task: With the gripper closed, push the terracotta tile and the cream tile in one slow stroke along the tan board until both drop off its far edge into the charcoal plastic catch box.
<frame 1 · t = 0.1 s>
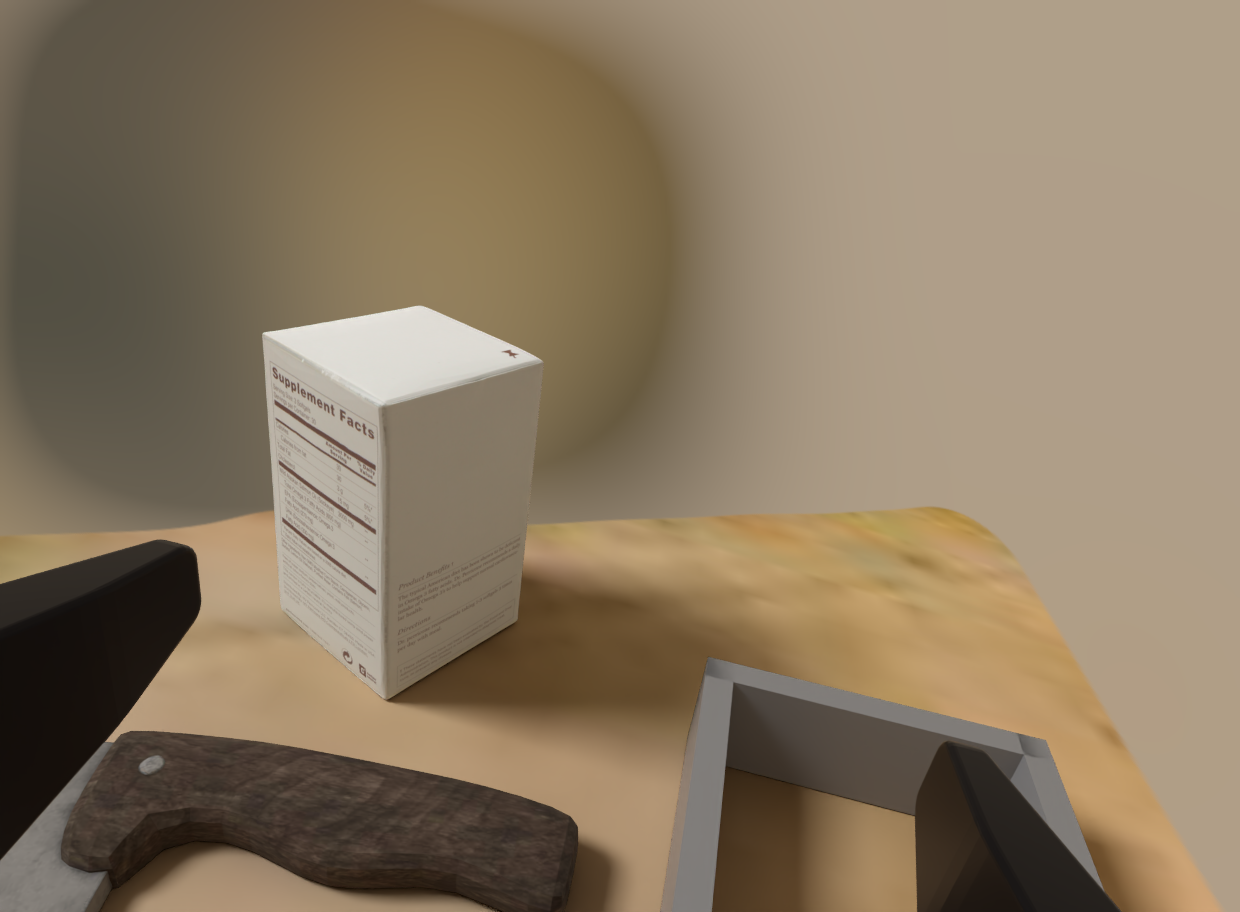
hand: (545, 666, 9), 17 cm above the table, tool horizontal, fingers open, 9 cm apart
supplement box: (400, 621, 34), on the table
cleaver: (58, 895, 23), on the table
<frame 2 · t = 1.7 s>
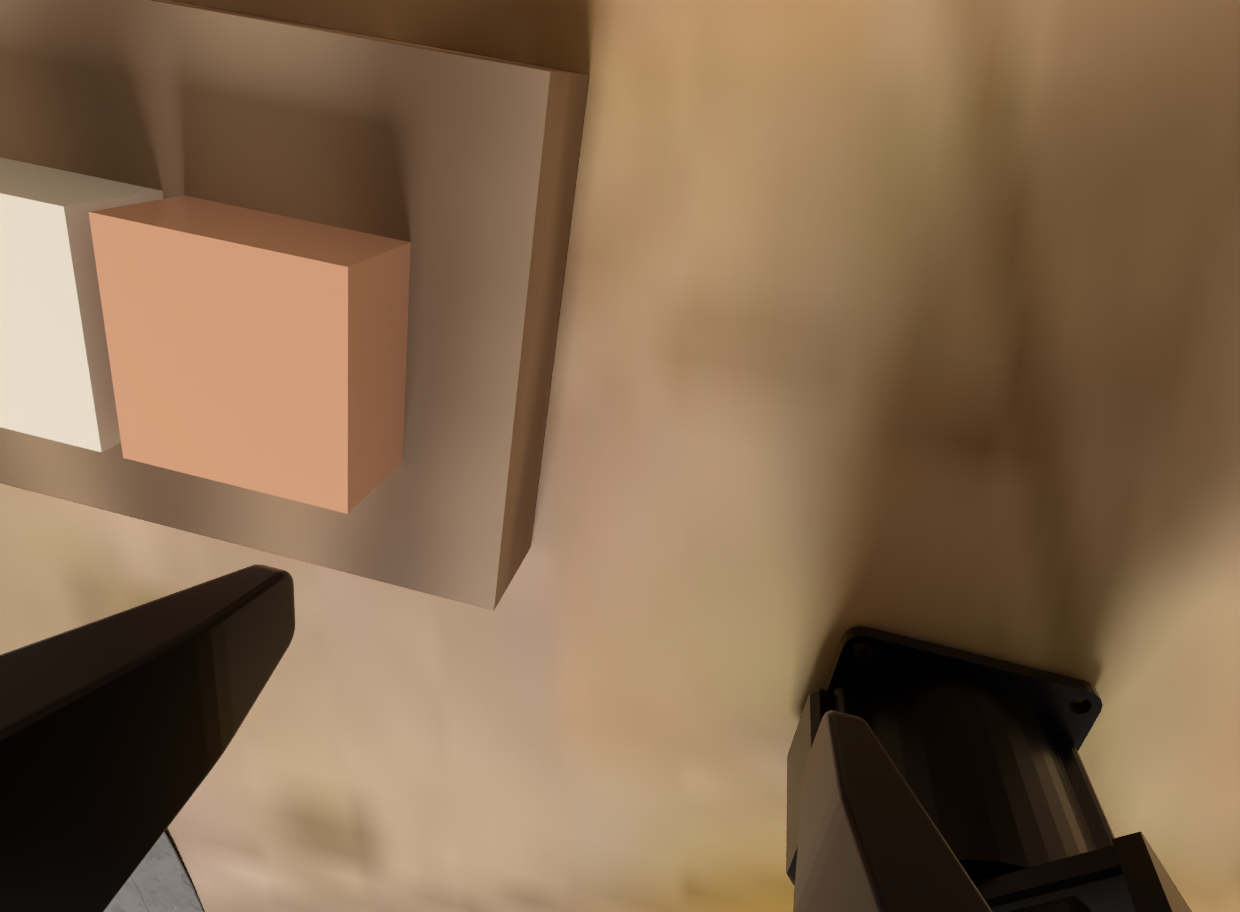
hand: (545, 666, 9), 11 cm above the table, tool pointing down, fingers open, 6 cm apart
terracotta tile: (298, 335, 17), point 3 cm above the table, touching tan board
tan board: (238, 274, 20), on the table
cleaver: (59, 774, 32), on the table
cream tile: (73, 284, 18), point 3 cm above the table, touching tan board
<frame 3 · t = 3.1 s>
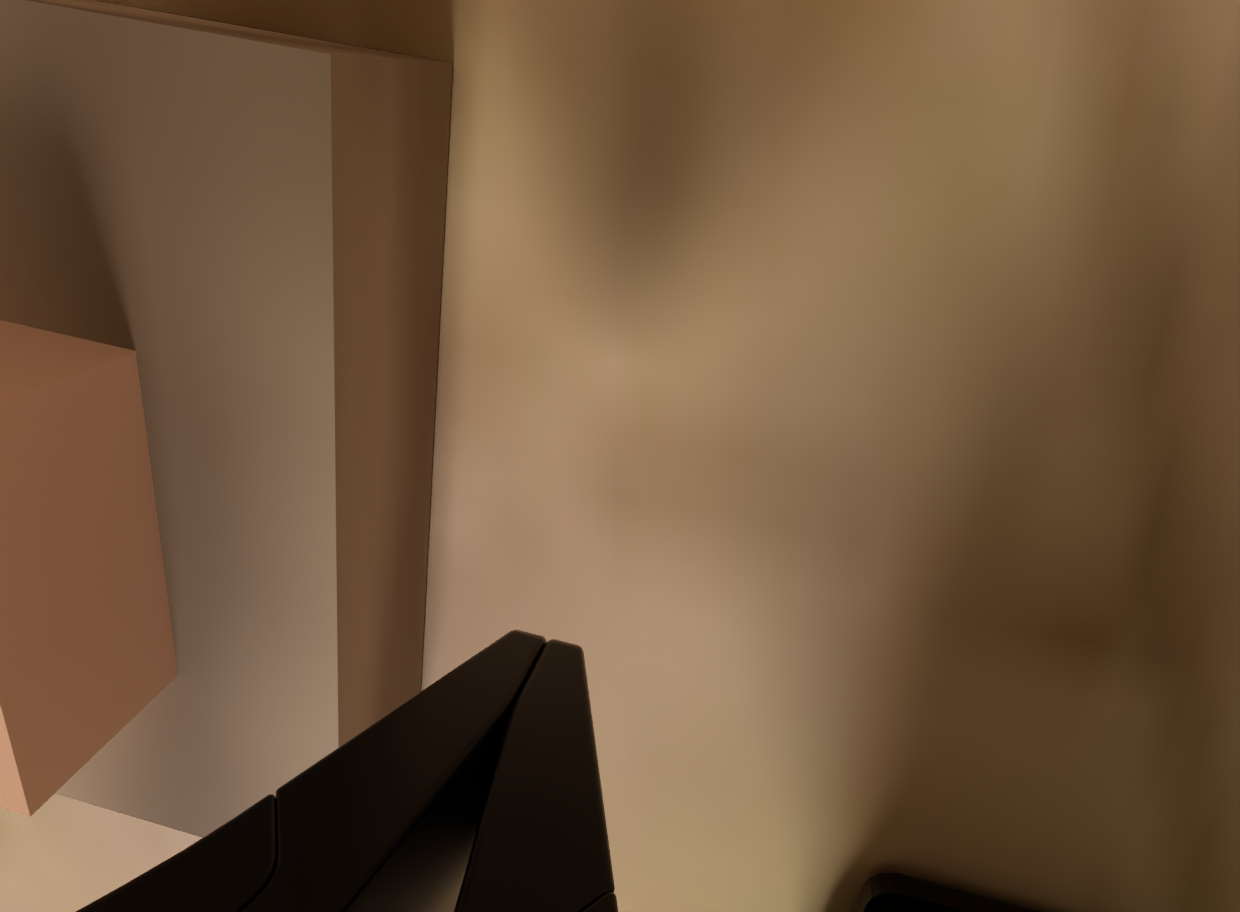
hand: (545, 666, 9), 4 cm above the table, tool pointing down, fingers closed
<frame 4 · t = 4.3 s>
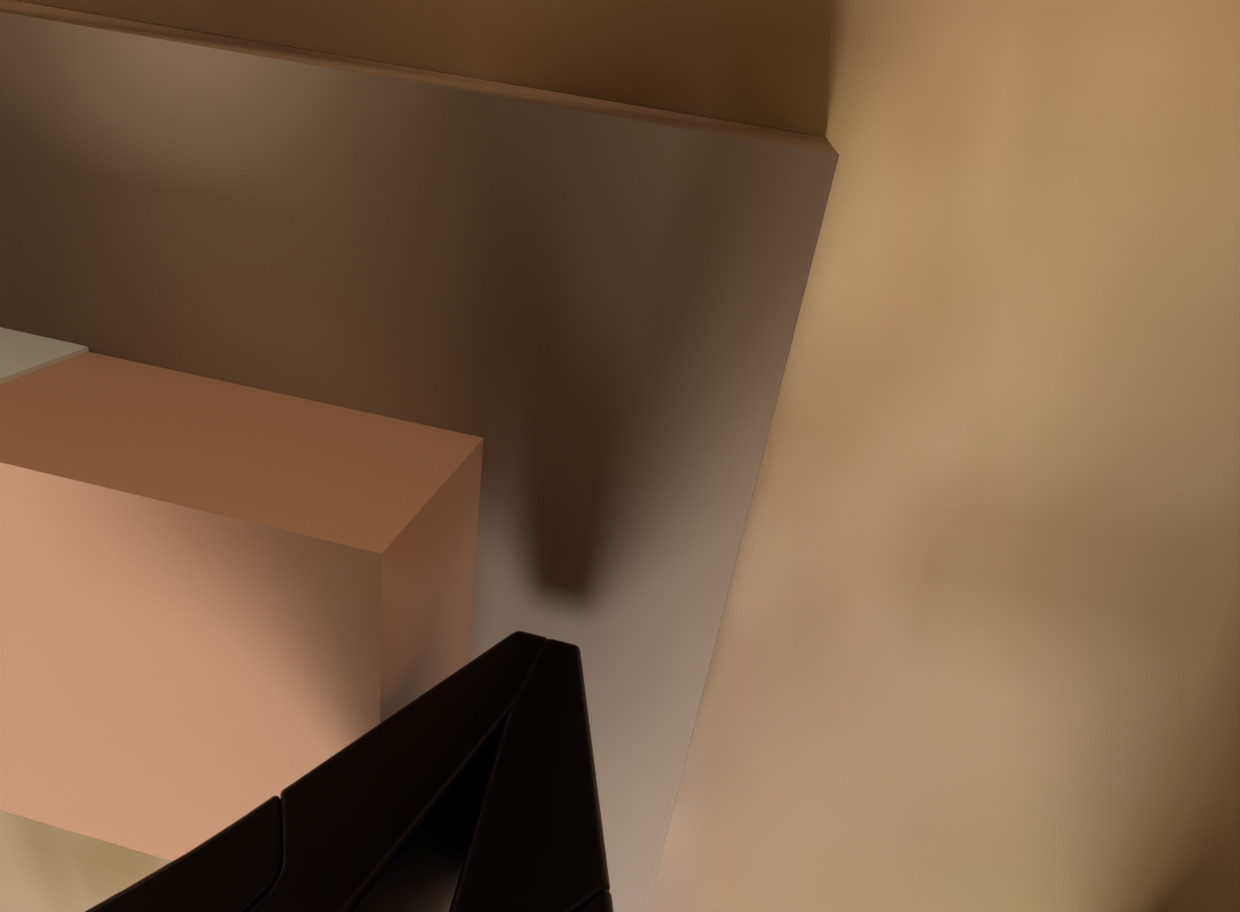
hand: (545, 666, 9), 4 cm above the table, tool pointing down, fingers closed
terracotta tile: (289, 569, 10), point 3 cm above the table, touching cream tile, gripper
tan board: (229, 431, 13), on the table
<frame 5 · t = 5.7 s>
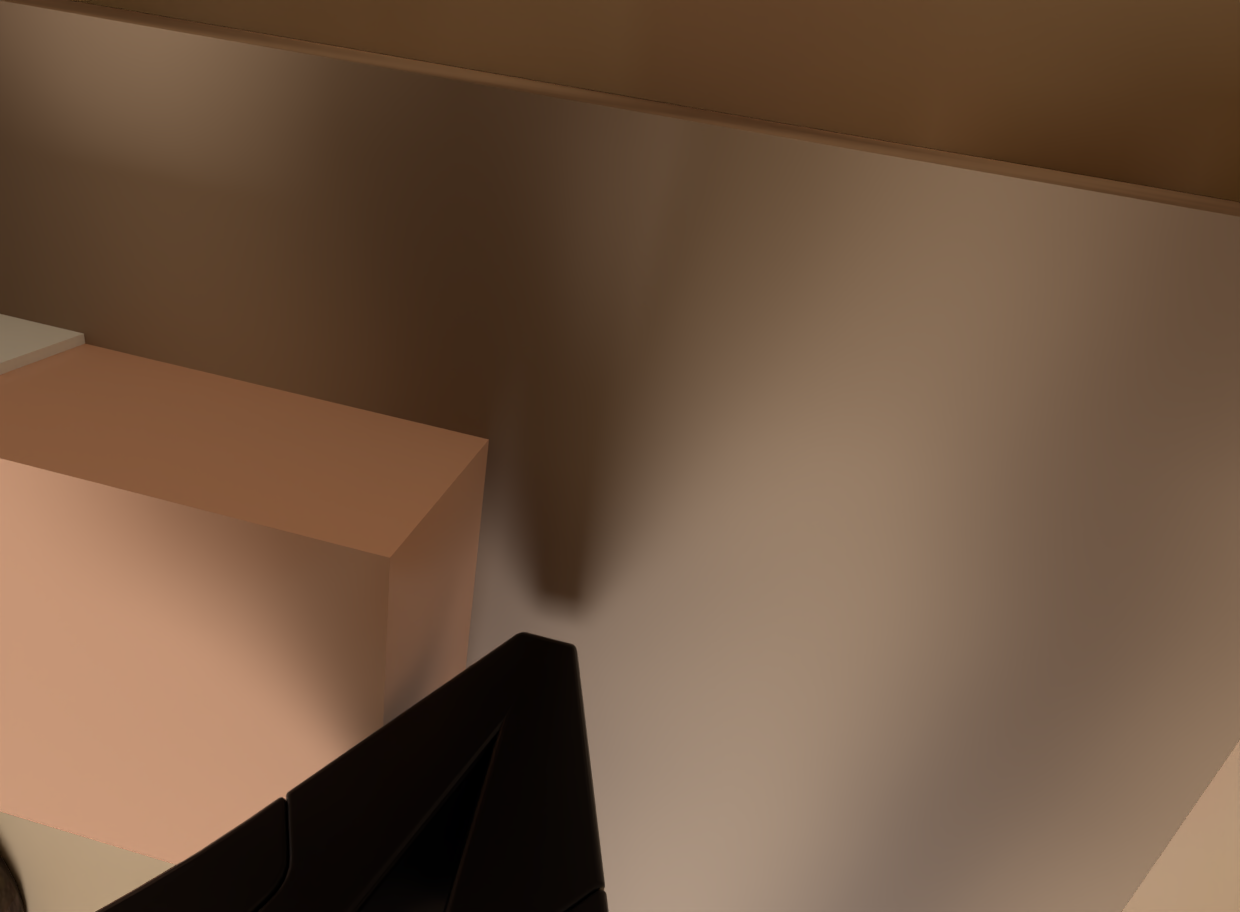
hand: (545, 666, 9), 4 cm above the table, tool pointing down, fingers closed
terracotta tile: (287, 567, 10), point 3 cm above the table, touching cream tile, gripper, tan board
tan board: (556, 503, 13), on the table
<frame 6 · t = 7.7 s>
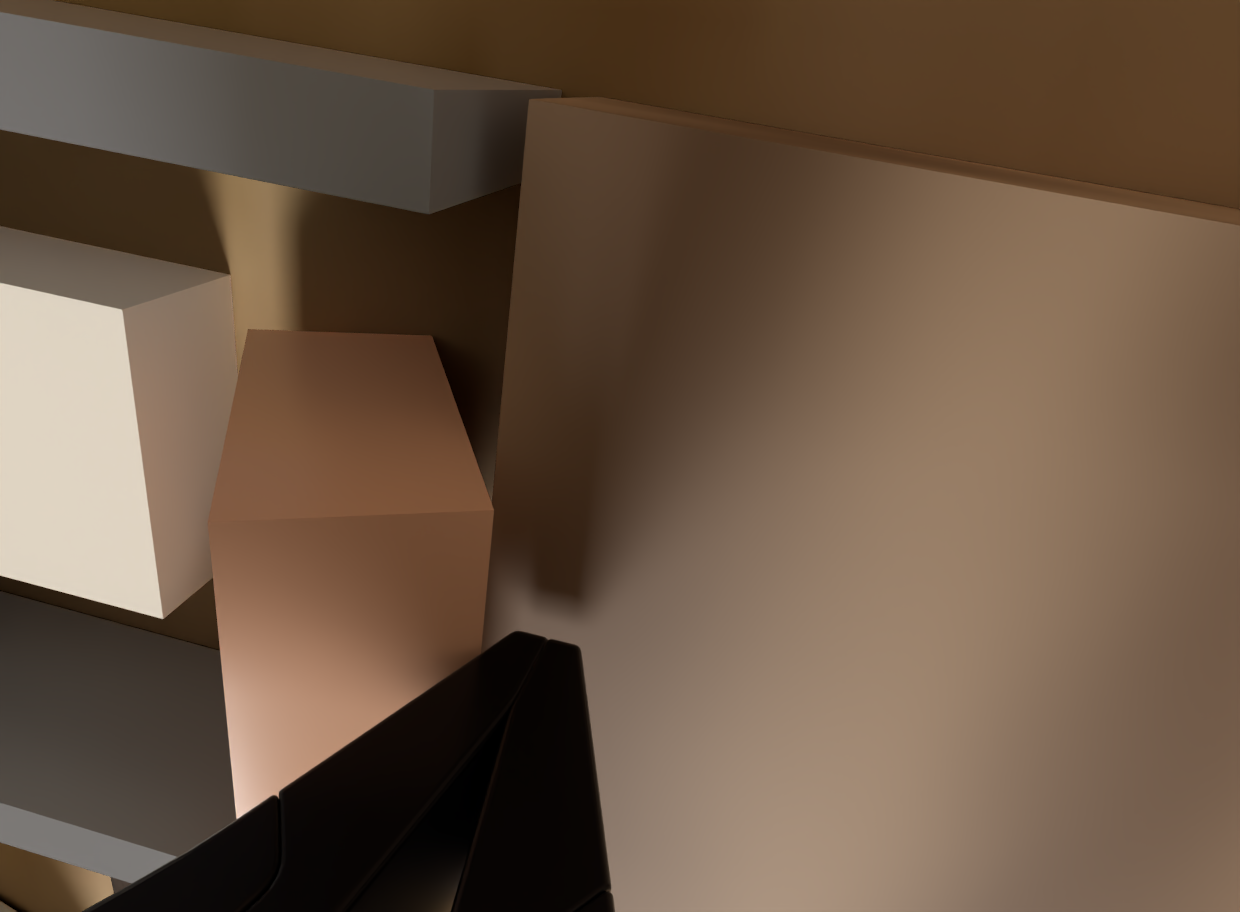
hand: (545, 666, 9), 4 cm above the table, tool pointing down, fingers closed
terracotta tile: (445, 570, 11), point 2 cm above the table, tilted 60°, touching gripper
tan board: (1098, 634, 12), on the table
catch box: (179, 416, 13), on the table
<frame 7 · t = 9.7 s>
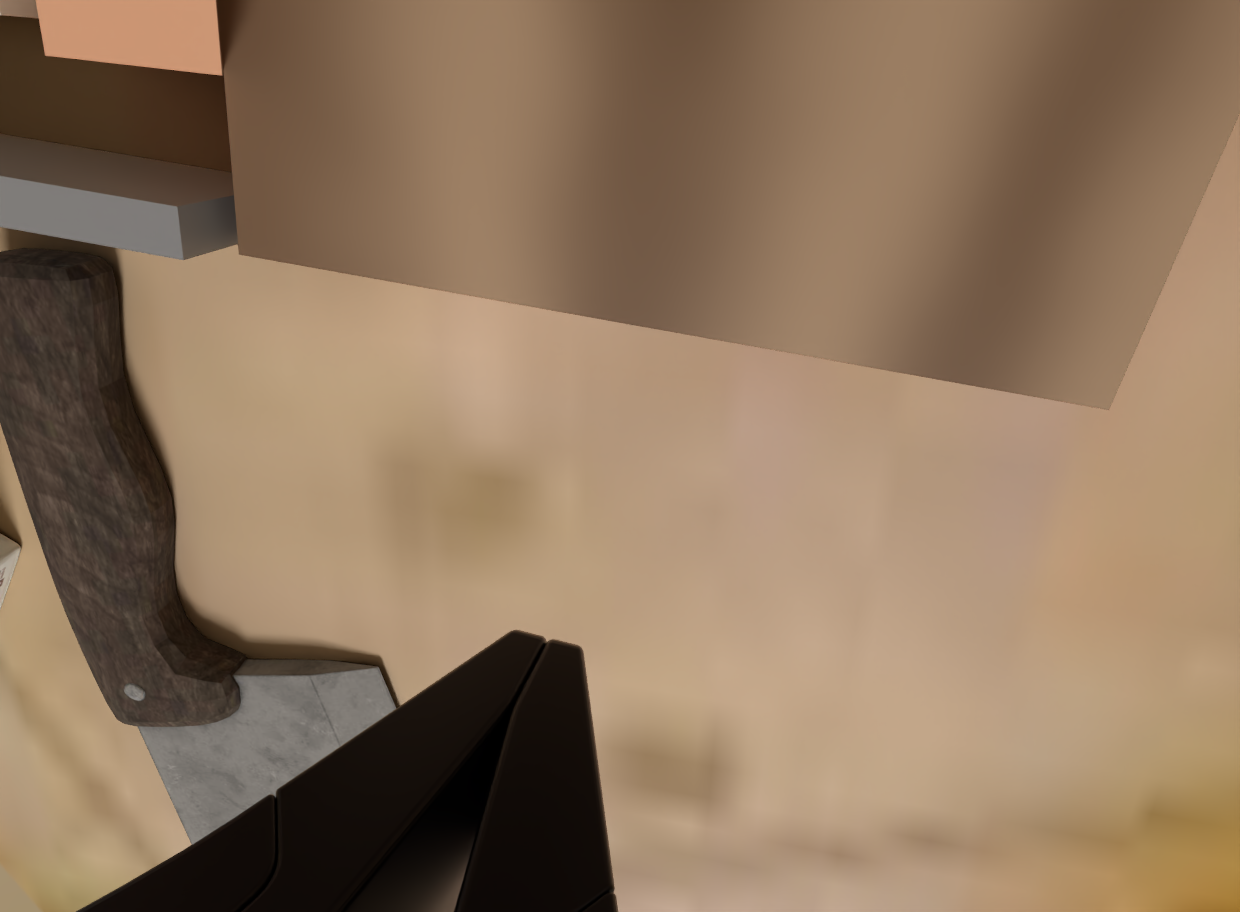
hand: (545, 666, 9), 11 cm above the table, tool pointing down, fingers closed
cleaver: (270, 684, 26), on the table
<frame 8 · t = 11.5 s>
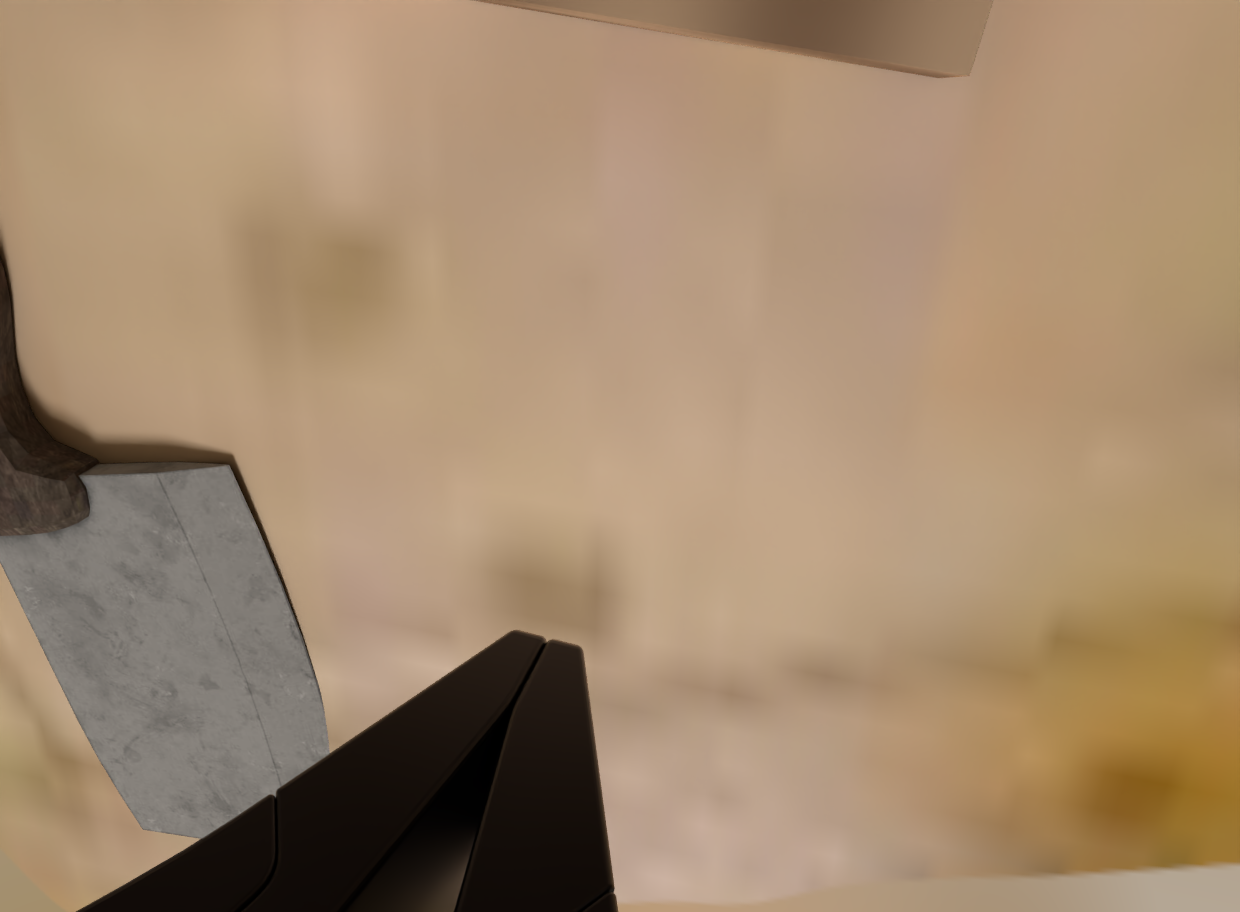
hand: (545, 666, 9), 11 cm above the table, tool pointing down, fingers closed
cleaver: (131, 501, 25), on the table
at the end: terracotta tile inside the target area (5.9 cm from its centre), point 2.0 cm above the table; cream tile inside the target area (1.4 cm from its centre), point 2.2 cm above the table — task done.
